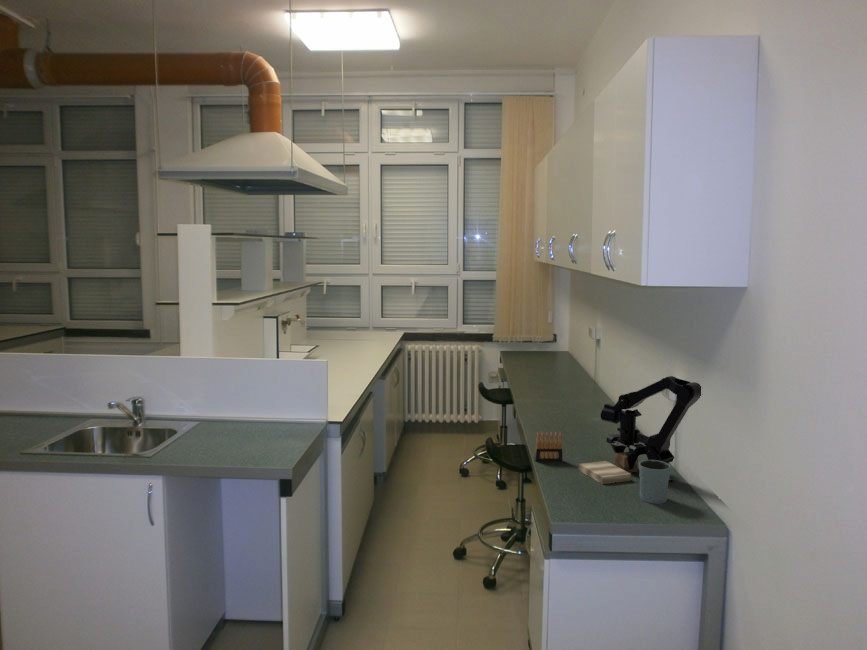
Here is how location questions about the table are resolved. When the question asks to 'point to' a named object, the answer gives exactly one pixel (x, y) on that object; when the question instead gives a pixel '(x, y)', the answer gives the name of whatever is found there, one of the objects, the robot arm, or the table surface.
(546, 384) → the table surface
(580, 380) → the table surface
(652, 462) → the grey-blue cup
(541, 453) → the ammunition clip
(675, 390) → the robot arm
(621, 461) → the walnut cube
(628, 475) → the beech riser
